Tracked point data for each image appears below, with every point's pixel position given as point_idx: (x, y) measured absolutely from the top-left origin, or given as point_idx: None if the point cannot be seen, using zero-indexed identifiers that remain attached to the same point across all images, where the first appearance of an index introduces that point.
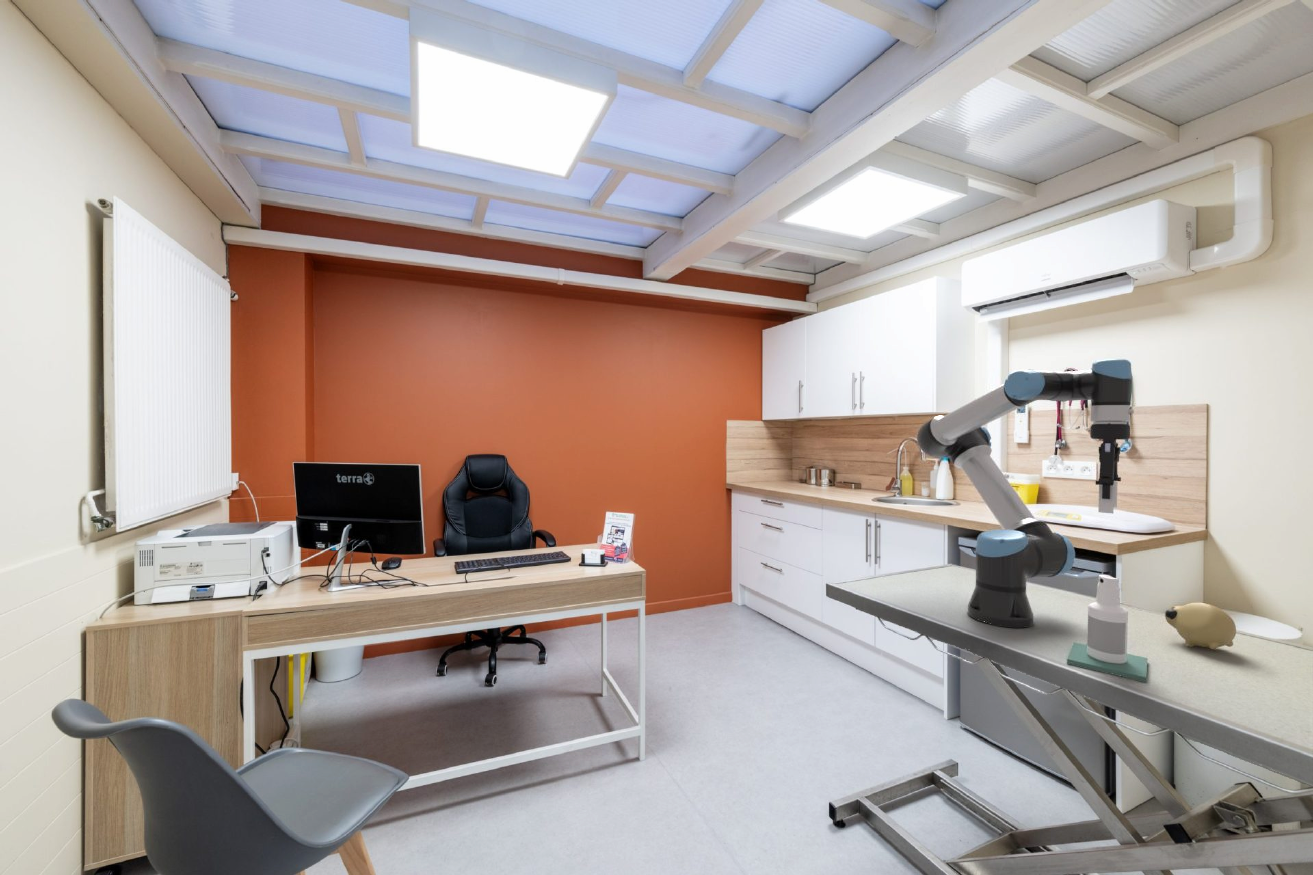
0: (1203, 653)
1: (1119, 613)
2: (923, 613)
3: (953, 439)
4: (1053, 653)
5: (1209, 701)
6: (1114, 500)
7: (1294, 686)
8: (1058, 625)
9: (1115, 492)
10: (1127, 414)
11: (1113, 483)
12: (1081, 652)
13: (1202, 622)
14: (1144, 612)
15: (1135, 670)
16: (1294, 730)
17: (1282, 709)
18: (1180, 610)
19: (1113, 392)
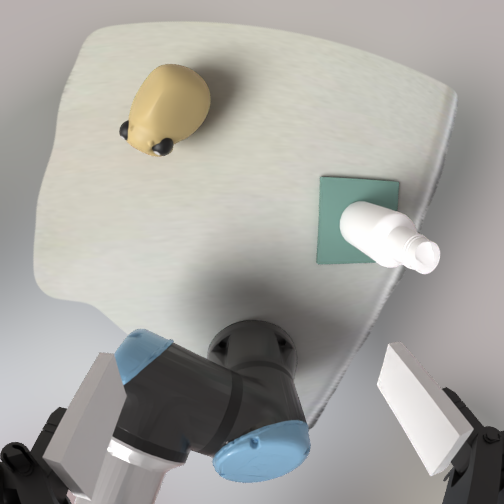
0: (209, 110)
1: (413, 224)
2: None
3: None
4: (363, 277)
5: (406, 128)
6: (104, 384)
7: (280, 35)
8: (221, 292)
9: (86, 414)
10: None
11: (494, 432)
12: (357, 250)
13: (201, 102)
14: (42, 197)
15: (383, 191)
16: (422, 77)
17: (376, 67)
18: (165, 132)
19: None
